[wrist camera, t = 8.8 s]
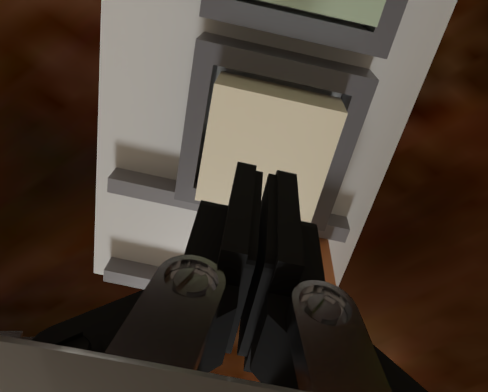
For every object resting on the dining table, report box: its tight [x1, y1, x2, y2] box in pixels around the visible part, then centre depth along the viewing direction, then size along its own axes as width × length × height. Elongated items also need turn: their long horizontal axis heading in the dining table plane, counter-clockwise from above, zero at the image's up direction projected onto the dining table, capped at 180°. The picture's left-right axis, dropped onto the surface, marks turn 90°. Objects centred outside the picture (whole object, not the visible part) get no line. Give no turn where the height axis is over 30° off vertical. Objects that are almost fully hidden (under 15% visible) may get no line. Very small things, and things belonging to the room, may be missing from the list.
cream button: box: [195, 71, 348, 223], centre depth 17 cm, size 5×5×2 cm
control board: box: [94, 0, 457, 289], centre depth 19 cm, size 14×24×4 cm, turn 169°
